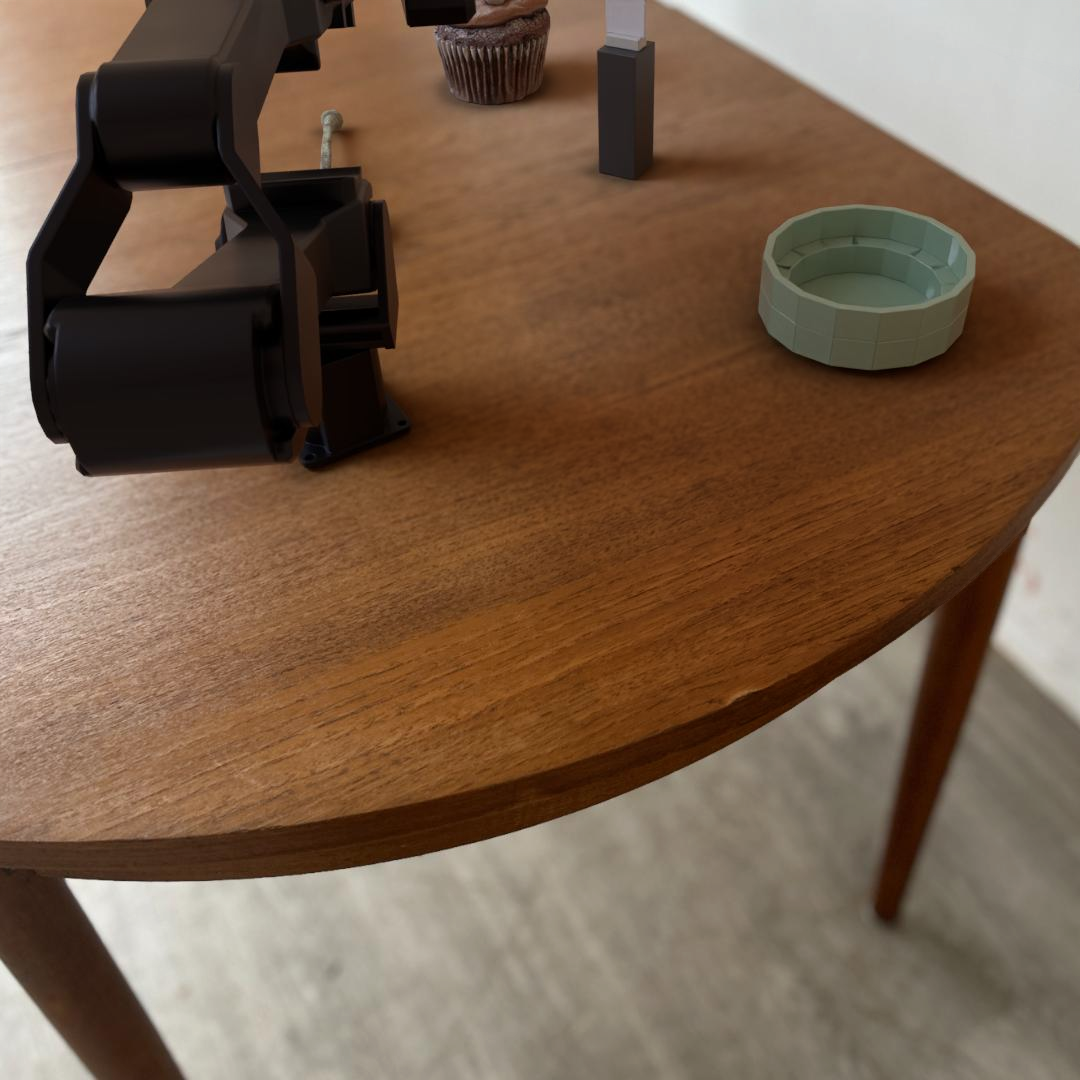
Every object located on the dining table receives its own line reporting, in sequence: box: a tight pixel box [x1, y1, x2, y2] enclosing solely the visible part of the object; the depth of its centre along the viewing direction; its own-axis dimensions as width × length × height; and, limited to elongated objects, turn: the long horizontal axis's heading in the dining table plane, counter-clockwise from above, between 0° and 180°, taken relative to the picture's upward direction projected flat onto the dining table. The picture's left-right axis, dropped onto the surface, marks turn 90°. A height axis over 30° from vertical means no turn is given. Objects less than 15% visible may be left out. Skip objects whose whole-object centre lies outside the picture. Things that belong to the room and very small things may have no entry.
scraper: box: [596, 0, 656, 181], centre depth 84 cm, size 3×3×13 cm
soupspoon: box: [319, 109, 344, 169], centre depth 87 cm, size 22×3×7 cm
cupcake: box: [432, 0, 551, 105], centre depth 97 cm, size 10×10×10 cm
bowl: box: [757, 203, 977, 371], centre depth 71 cm, size 12×12×4 cm
